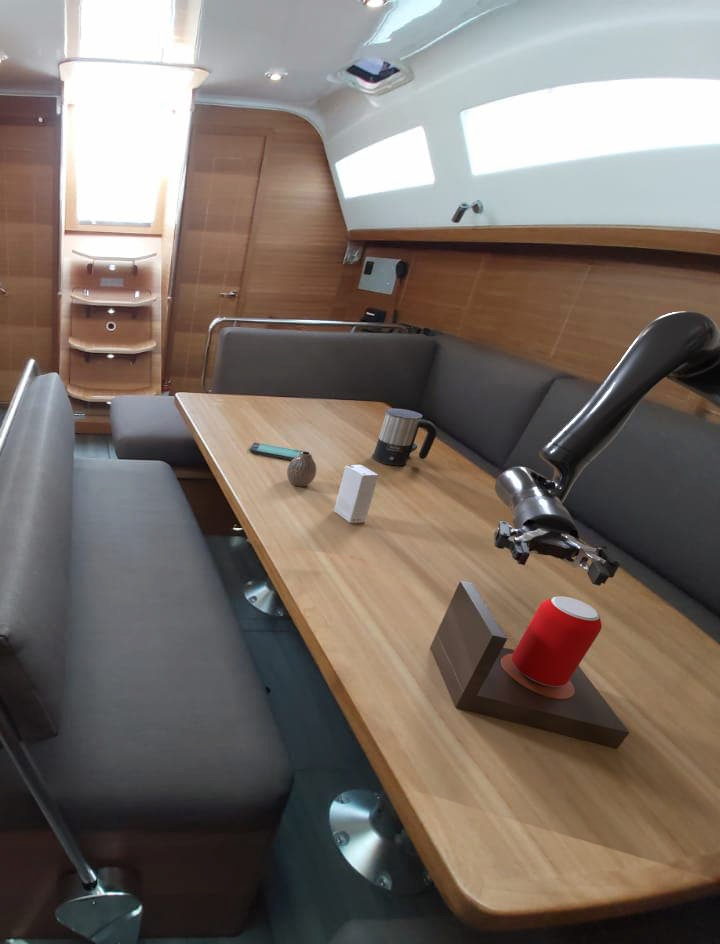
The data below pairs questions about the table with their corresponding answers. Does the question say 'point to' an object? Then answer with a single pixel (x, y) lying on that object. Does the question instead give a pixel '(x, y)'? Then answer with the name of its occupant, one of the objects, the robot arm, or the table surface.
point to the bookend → (513, 678)
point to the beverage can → (556, 640)
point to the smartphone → (274, 451)
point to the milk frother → (402, 437)
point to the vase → (302, 469)
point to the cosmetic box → (355, 493)
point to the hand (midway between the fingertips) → (561, 569)
